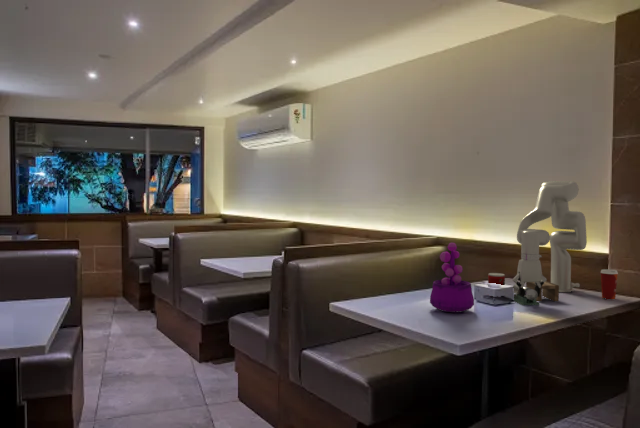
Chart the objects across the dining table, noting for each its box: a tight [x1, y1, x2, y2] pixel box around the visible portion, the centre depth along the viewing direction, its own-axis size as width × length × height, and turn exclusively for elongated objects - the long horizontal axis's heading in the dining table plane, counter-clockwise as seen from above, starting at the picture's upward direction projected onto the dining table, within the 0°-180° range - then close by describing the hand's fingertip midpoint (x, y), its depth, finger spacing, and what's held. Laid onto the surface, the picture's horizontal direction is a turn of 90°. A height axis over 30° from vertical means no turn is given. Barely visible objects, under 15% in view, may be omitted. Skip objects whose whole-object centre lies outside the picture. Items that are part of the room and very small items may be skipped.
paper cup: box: [599, 268, 619, 300], centre depth 244 cm, size 8×8×14 cm
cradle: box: [513, 293, 540, 306], centre depth 235 cm, size 8×12×3 cm, turn 3°
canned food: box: [487, 272, 506, 286], centre depth 251 cm, size 8×8×11 cm
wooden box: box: [525, 280, 560, 302], centre depth 243 cm, size 10×12×8 cm
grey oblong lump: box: [512, 283, 538, 300], centre depth 235 cm, size 15×5×5 cm, turn 4°
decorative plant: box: [429, 242, 475, 313], centre depth 218 cm, size 19×18×30 cm
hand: (529, 295), depth 231 cm, fingers open, 6 cm apart
